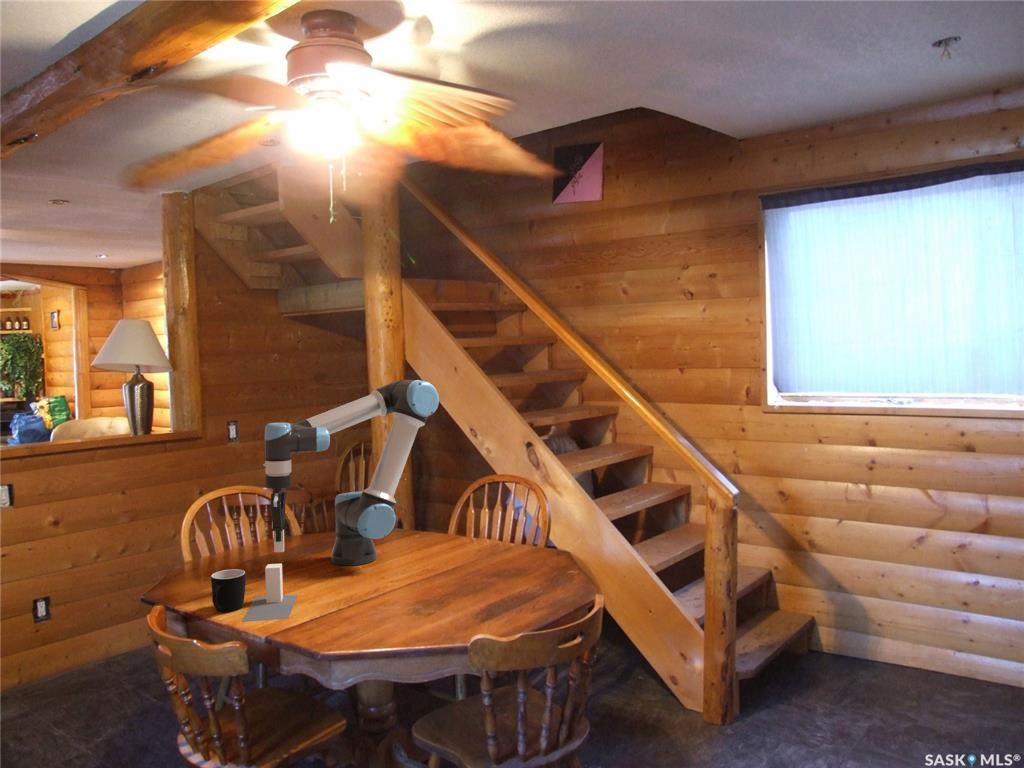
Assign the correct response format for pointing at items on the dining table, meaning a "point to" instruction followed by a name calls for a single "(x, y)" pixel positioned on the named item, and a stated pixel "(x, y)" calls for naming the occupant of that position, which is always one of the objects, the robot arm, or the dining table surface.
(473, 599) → the dining table surface
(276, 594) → the pillar
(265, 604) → the felt mat
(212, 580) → the mug
